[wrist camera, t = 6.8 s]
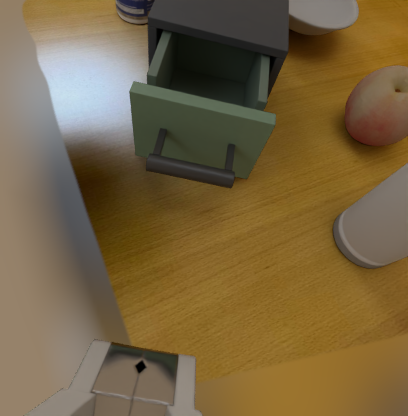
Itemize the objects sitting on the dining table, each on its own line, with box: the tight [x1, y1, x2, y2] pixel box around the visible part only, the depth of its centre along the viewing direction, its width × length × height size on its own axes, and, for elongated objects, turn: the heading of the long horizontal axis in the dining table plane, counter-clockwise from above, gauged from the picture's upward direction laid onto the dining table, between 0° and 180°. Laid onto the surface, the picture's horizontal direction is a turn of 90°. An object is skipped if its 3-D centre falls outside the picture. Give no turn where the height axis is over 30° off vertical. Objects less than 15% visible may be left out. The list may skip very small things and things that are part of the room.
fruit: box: [345, 66, 408, 146], centre depth 33 cm, size 8×8×8 cm
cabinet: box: [148, 0, 289, 99], centre depth 32 cm, size 15×13×10 cm
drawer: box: [129, 30, 276, 188], centre depth 27 cm, size 18×11×8 cm, turn 171°
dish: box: [289, 0, 359, 35], centre depth 43 cm, size 18×14×5 cm
